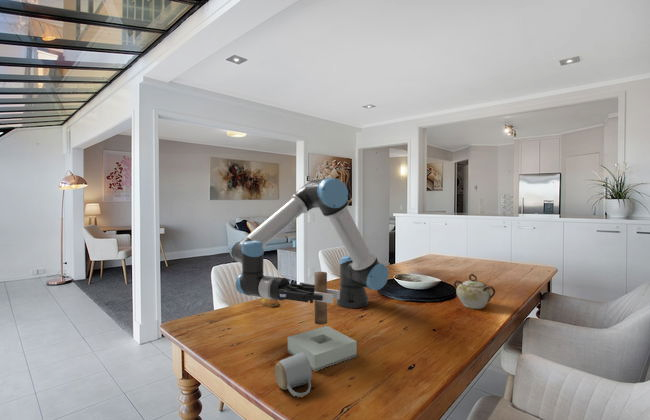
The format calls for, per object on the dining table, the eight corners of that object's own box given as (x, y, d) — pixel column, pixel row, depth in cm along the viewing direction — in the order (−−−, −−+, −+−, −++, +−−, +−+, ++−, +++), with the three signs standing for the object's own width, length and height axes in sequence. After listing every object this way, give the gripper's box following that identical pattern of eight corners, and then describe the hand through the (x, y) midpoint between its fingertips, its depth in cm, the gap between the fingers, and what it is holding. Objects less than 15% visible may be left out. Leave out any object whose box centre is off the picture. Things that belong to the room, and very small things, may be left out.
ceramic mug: (273, 383, 90) (272, 355, 90) (299, 374, 95) (299, 348, 94) (290, 403, 81) (290, 373, 81) (319, 393, 86) (319, 364, 85)
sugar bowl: (445, 304, 157) (445, 272, 156) (462, 298, 166) (462, 268, 165) (486, 315, 141) (486, 280, 140) (502, 308, 150) (503, 275, 149)
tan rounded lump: (282, 306, 156) (281, 298, 156) (269, 309, 152) (269, 301, 152) (272, 301, 164) (272, 293, 164) (259, 304, 159) (259, 296, 159)
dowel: (312, 321, 107) (312, 272, 106) (322, 319, 109) (322, 271, 109) (319, 325, 104) (319, 275, 103) (329, 322, 106) (329, 273, 105)
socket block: (287, 351, 109) (287, 336, 108) (327, 339, 118) (326, 325, 118) (314, 372, 96) (314, 355, 95) (356, 356, 105) (356, 341, 105)
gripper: (288, 292, 122) (347, 301, 111) (259, 305, 107) (323, 317, 96) (288, 272, 122) (346, 279, 111) (259, 282, 107) (323, 291, 96)
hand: (335, 296), depth 104 cm, fingers closed on dowel, 4 cm apart
